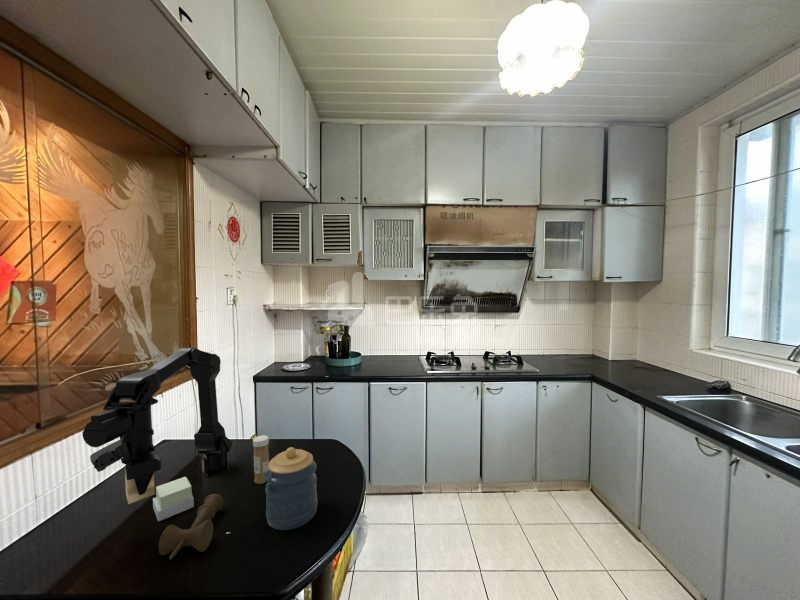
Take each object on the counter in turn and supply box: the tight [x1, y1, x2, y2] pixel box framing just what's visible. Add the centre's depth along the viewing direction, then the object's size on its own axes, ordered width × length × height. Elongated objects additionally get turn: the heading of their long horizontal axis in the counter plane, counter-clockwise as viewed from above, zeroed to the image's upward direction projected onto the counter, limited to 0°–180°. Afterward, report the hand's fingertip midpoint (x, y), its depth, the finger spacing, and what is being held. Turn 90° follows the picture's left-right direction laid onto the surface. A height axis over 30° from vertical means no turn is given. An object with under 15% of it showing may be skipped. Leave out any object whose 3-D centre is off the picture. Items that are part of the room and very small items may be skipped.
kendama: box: [158, 493, 225, 560], centre depth 78 cm, size 6×10×20 cm
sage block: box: [155, 476, 193, 509], centre depth 89 cm, size 7×7×3 cm
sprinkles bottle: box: [252, 434, 270, 485], centre depth 101 cm, size 5×5×14 cm
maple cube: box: [124, 473, 156, 505], centre depth 80 cm, size 5×5×5 cm
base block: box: [152, 495, 195, 522], centre depth 89 cm, size 8×8×3 cm
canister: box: [264, 446, 318, 531], centre depth 85 cm, size 13×13×18 cm
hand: (140, 489), depth 80 cm, fingers closed on maple cube, 5 cm apart
